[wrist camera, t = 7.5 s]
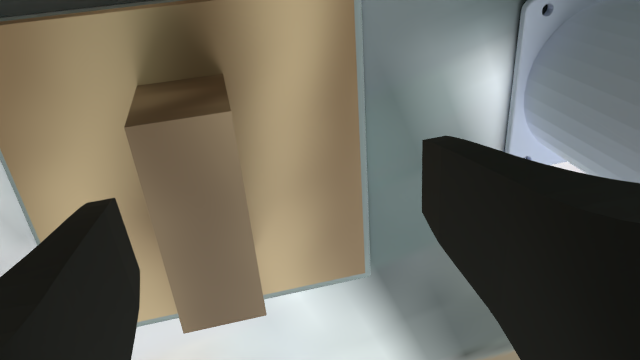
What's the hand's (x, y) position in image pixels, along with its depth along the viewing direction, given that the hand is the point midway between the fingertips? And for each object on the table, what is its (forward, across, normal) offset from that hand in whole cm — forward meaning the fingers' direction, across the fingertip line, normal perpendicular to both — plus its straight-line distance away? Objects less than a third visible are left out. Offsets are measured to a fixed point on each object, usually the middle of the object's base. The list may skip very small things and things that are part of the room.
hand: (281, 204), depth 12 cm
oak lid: (+9, +2, +3) cm, 9 cm away
